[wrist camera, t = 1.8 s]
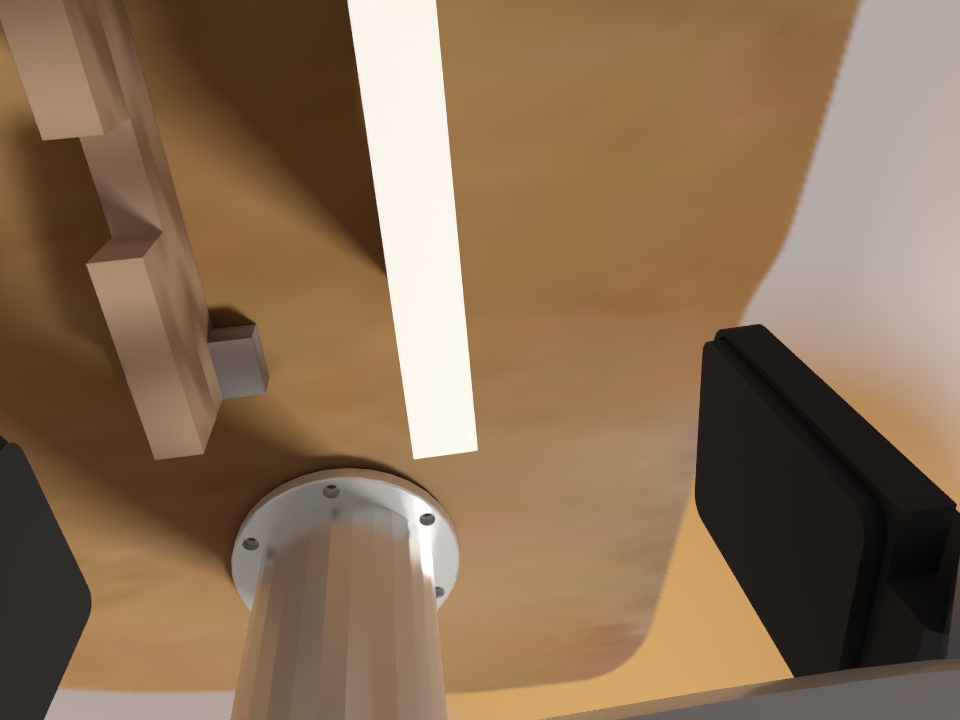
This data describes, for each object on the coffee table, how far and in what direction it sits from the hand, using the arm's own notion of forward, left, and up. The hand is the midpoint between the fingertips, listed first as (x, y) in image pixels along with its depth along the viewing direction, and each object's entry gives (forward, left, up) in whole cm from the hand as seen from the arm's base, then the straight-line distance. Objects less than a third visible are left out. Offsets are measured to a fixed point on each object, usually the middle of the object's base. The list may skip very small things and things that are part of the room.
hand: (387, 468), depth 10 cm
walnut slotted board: (0, +10, -24) cm, 26 cm away
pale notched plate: (0, -1, -24) cm, 24 cm away
